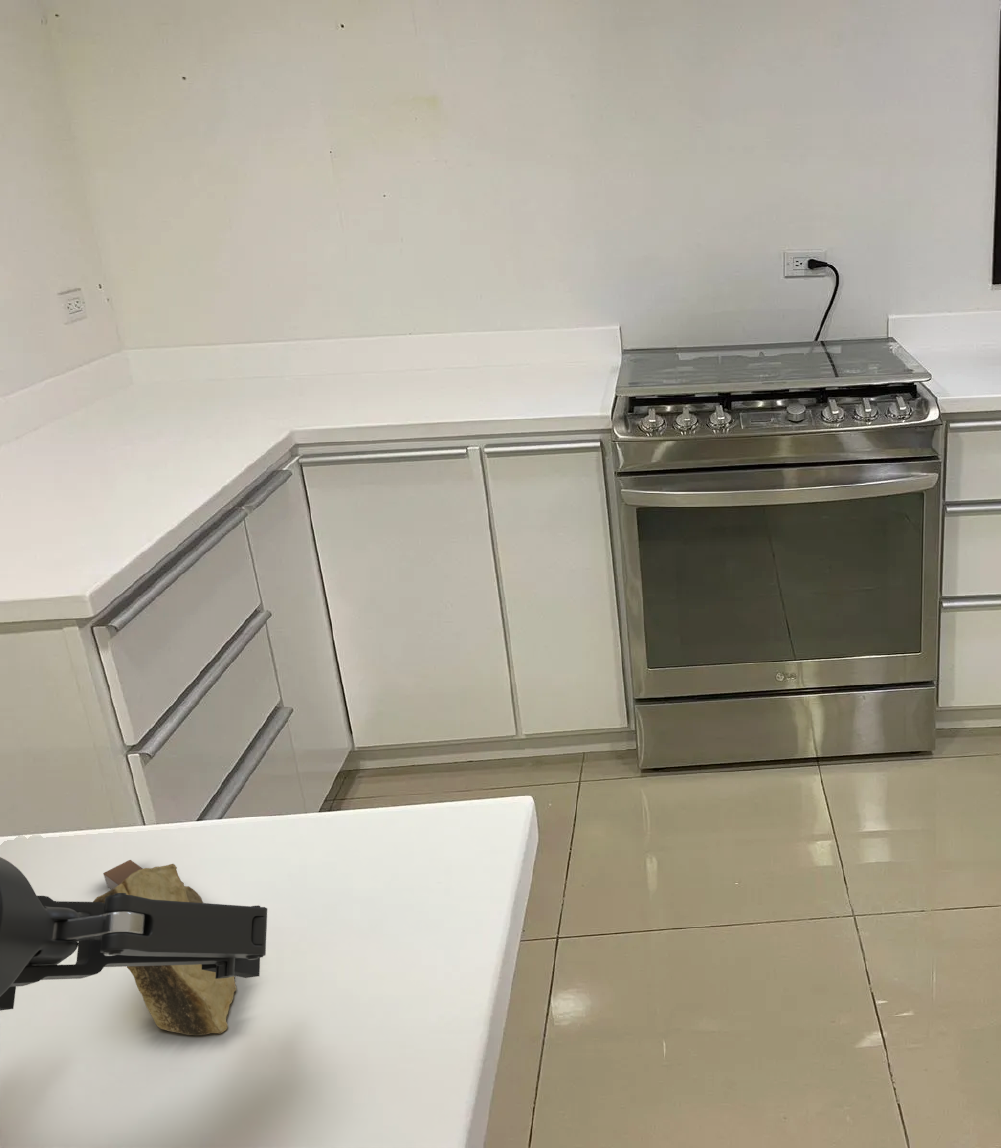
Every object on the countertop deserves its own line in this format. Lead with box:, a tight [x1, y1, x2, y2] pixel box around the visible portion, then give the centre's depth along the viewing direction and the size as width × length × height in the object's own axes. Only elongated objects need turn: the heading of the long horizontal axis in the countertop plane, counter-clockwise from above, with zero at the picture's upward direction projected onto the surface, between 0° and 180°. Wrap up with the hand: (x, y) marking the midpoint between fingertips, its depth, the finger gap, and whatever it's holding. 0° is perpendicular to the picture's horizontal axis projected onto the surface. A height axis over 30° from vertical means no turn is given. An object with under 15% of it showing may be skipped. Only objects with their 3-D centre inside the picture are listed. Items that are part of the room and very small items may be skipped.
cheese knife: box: [103, 859, 144, 890], centre depth 81 cm, size 10×2×1 cm, turn 53°
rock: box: [92, 863, 237, 1036], centre depth 72 cm, size 11×9×10 cm
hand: (133, 968), depth 65 cm, fingers open, 13 cm apart
